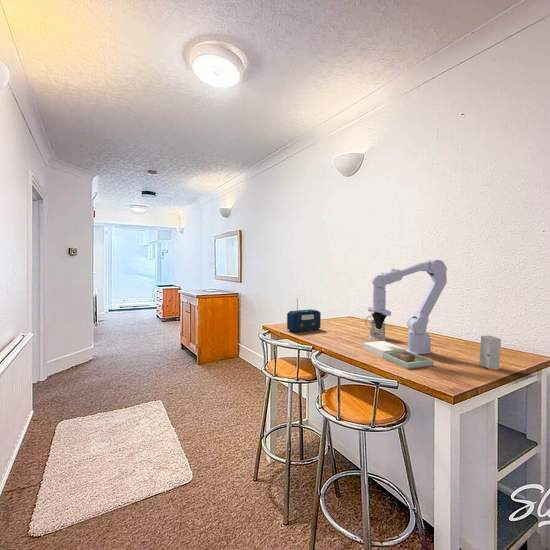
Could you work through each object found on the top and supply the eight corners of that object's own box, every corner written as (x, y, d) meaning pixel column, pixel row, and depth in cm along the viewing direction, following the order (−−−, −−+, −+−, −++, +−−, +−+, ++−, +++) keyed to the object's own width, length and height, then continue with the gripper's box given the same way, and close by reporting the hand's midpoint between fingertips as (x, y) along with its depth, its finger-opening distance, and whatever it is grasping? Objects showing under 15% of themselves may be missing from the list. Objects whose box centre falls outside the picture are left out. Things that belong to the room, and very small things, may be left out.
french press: (388, 340, 164) (389, 294, 164) (366, 339, 166) (367, 294, 165) (385, 336, 174) (385, 292, 173) (364, 335, 176) (364, 292, 175)
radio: (293, 333, 180) (294, 300, 179) (286, 330, 188) (286, 298, 187) (321, 329, 190) (322, 298, 189) (313, 327, 198) (313, 297, 197)
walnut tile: (414, 355, 126) (414, 361, 126) (406, 352, 130) (406, 358, 130) (405, 356, 124) (404, 362, 124) (396, 353, 129) (396, 359, 129)
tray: (406, 355, 136) (406, 350, 136) (433, 365, 122) (433, 360, 122) (382, 358, 132) (382, 353, 132) (407, 369, 118) (407, 363, 118)
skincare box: (478, 364, 124) (479, 335, 123) (489, 364, 124) (490, 335, 123) (489, 369, 118) (490, 338, 117) (500, 369, 117) (501, 338, 117)
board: (383, 346, 150) (383, 340, 150) (405, 355, 136) (405, 348, 136) (362, 348, 146) (363, 342, 146) (383, 357, 132) (383, 351, 132)
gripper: (363, 298, 149) (362, 326, 150) (382, 302, 136) (381, 332, 136) (375, 298, 152) (374, 325, 152) (395, 301, 138) (394, 331, 138)
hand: (378, 328), depth 144 cm, fingers closed
